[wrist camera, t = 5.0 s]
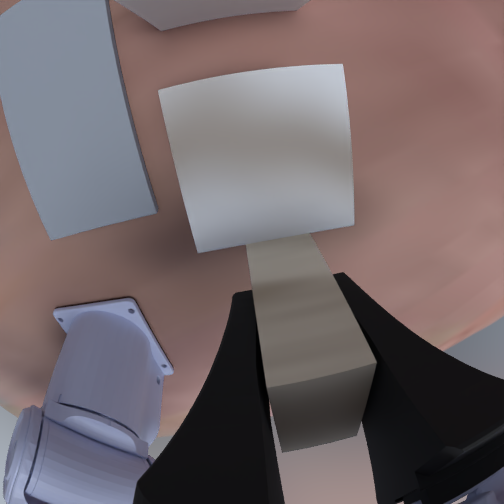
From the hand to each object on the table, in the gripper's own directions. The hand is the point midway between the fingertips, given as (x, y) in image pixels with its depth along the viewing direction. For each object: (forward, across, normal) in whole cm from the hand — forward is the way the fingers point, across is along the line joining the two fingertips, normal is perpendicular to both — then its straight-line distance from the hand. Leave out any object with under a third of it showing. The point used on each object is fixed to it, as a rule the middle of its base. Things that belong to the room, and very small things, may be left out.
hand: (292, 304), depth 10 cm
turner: (+3, 0, -2) cm, 4 cm away
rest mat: (+9, +10, -9) cm, 16 cm away
